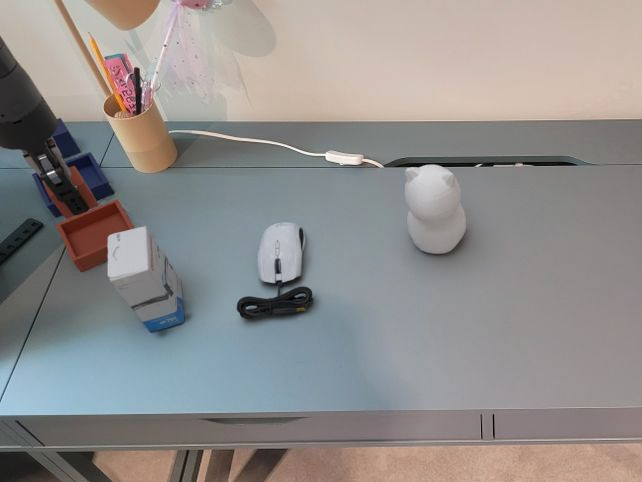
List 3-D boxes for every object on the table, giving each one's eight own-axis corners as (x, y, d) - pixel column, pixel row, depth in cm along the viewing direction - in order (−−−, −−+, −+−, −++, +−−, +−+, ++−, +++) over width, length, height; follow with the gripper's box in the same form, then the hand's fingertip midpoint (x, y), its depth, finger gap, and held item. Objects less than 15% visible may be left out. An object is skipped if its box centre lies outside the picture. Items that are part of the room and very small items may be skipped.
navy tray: (55, 217, 101) (46, 206, 100) (39, 185, 106) (31, 174, 104) (114, 193, 105) (107, 181, 103) (97, 163, 110) (90, 151, 108)
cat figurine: (401, 260, 97) (389, 187, 85) (420, 202, 105) (411, 128, 93) (460, 267, 96) (455, 194, 84) (474, 208, 104) (472, 134, 92)
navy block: (53, 162, 110) (39, 141, 106) (46, 148, 112) (32, 127, 108) (81, 151, 111) (67, 131, 108) (73, 138, 113) (60, 117, 110)
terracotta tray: (81, 272, 95) (72, 261, 93) (63, 235, 99) (55, 224, 97) (143, 244, 98) (137, 233, 96) (124, 210, 103) (117, 198, 101)
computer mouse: (315, 222, 102) (310, 204, 98) (314, 315, 90) (308, 298, 87) (251, 229, 100) (243, 211, 97) (241, 324, 89) (232, 307, 86)
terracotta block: (66, 219, 91) (49, 196, 87) (57, 201, 93) (40, 178, 89) (99, 205, 92) (83, 182, 89) (89, 188, 95) (74, 165, 91)
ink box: (185, 324, 89) (150, 270, 80) (147, 334, 88) (107, 281, 79) (181, 278, 94) (148, 223, 85) (145, 287, 93) (107, 232, 84)
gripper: (-40, 85, 81) (35, 185, 94) (-15, 144, 74) (63, 243, 87) (24, 64, 84) (89, 164, 97) (54, 119, 77) (119, 219, 90)
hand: (76, 201), depth 92 cm, fingers closed on terracotta block, 4 cm apart
